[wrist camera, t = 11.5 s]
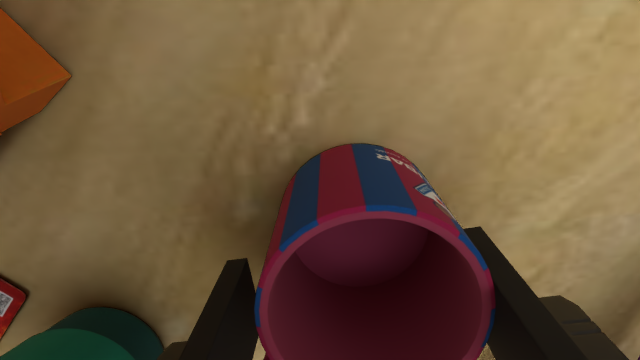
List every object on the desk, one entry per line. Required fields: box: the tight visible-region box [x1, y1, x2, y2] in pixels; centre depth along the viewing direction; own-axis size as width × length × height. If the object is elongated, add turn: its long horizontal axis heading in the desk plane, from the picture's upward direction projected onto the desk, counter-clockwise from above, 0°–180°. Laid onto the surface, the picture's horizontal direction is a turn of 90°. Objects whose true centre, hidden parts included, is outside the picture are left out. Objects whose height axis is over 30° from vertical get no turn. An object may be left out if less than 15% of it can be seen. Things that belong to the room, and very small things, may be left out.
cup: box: [254, 144, 496, 360], centre depth 15 cm, size 7×10×7 cm
